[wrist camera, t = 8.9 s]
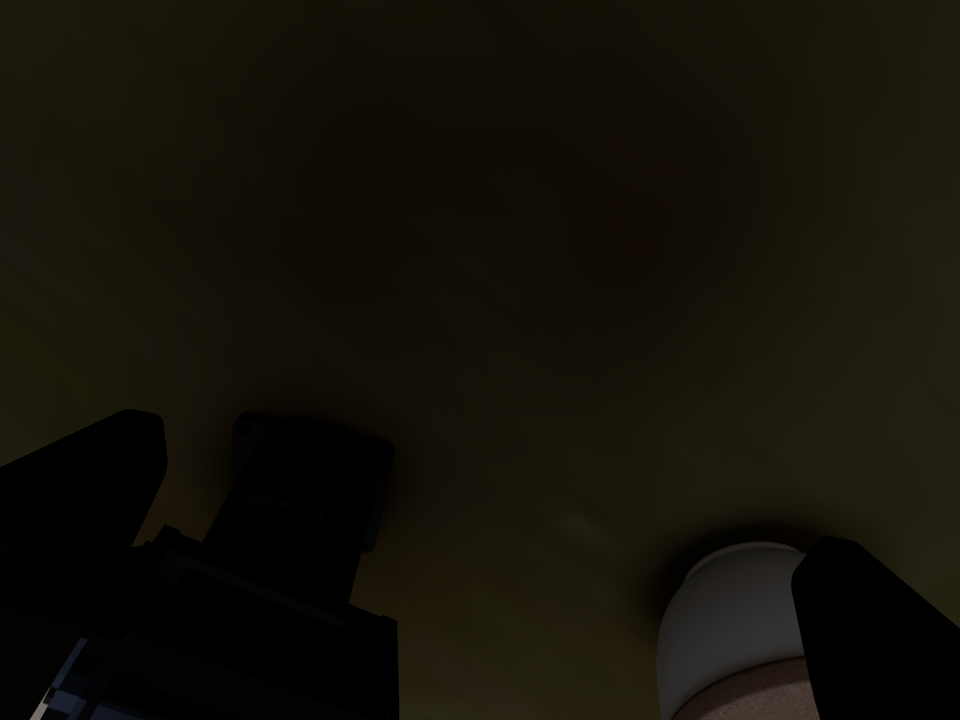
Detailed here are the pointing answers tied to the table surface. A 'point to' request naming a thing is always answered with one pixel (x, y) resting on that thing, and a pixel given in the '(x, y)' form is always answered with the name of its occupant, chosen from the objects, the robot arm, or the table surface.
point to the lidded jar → (735, 640)
